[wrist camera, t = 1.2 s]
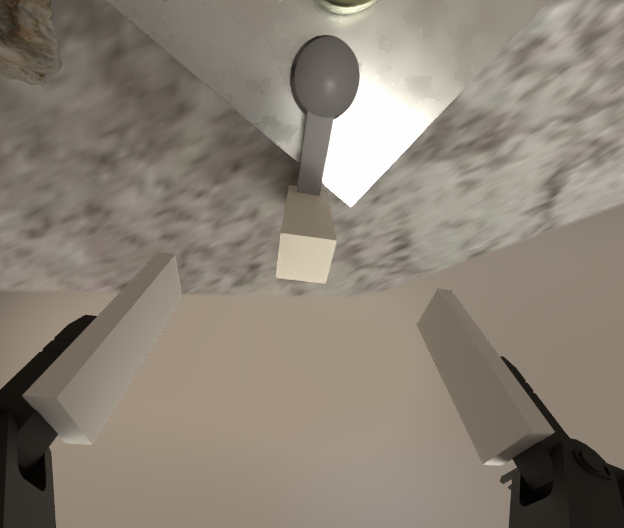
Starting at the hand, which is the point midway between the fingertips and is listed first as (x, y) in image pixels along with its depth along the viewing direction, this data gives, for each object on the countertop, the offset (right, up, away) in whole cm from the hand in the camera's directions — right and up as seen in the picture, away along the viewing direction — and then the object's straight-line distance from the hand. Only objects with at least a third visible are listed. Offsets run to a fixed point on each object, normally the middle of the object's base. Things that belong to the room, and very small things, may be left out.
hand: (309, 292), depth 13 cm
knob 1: (0, +10, +6) cm, 12 cm away
